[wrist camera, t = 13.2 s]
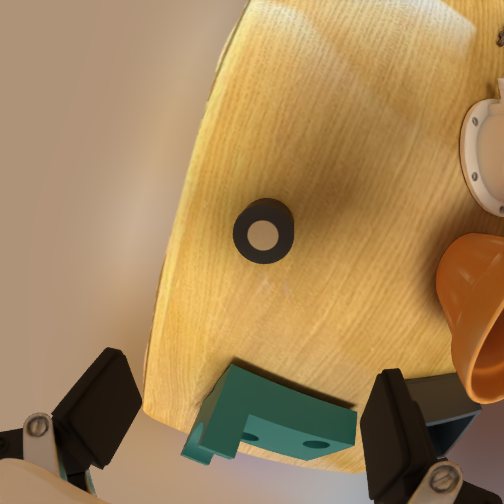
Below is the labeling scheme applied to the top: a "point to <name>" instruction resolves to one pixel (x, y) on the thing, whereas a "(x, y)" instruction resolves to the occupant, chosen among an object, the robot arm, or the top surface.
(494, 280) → the flower pot
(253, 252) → the tape roll
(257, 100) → the top surface
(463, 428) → the chest
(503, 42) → the wooden post with brackets
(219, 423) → the teal l-shaped bracket
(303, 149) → the top surface
